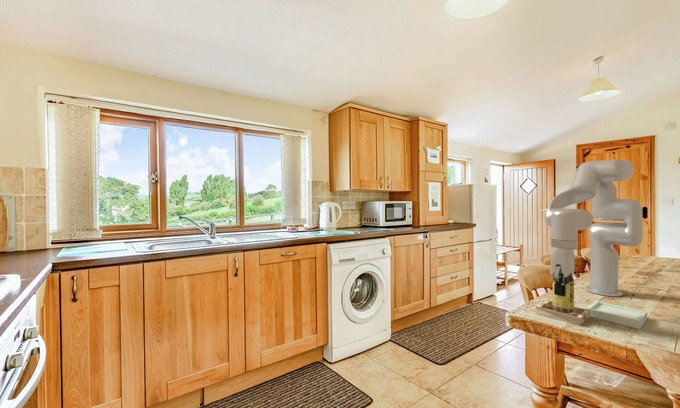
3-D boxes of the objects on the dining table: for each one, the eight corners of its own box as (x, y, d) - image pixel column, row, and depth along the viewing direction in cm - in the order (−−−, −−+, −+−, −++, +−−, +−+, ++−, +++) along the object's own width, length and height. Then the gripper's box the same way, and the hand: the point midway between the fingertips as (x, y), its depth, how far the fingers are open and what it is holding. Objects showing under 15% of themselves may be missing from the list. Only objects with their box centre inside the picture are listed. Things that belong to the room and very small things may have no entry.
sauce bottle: (575, 315, 103) (575, 259, 102) (553, 312, 106) (553, 257, 105) (572, 309, 108) (573, 256, 108) (551, 306, 112) (552, 254, 111)
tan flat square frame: (547, 306, 116) (547, 300, 116) (589, 317, 105) (589, 310, 105) (535, 313, 109) (535, 306, 108) (579, 325, 98) (579, 318, 98)
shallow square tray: (596, 306, 116) (596, 300, 115) (647, 318, 104) (647, 311, 104) (585, 315, 107) (585, 308, 107) (639, 329, 96) (639, 321, 96)
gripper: (559, 240, 115) (559, 286, 115) (542, 245, 104) (542, 295, 105) (584, 243, 109) (583, 291, 109) (568, 248, 98) (567, 301, 99)
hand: (563, 292), depth 107 cm, fingers closed on sauce bottle, 6 cm apart
